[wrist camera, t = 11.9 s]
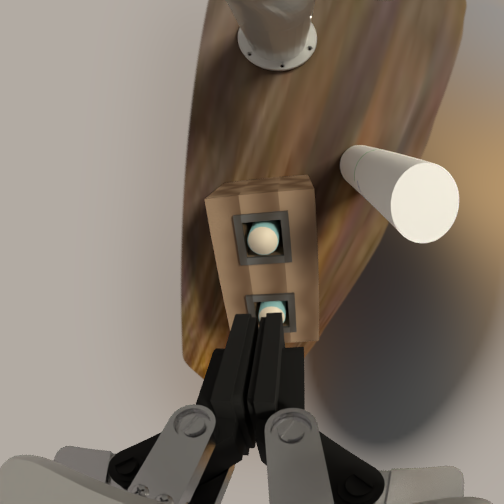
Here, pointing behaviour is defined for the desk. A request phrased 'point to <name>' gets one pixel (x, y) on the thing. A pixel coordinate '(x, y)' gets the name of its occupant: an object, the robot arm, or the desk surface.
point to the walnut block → (272, 265)
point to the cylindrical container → (404, 190)
